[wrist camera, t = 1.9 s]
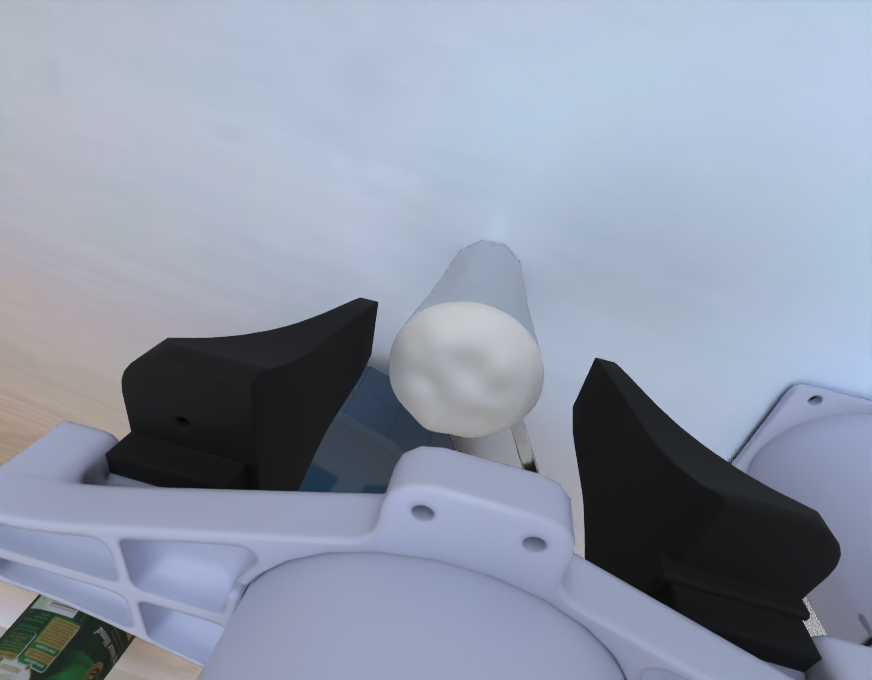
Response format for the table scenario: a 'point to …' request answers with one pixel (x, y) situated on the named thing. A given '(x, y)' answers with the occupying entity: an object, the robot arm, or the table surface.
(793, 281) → the table surface
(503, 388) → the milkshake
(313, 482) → the bowl
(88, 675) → the coffee jar
